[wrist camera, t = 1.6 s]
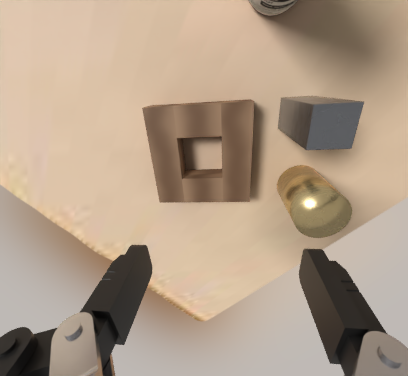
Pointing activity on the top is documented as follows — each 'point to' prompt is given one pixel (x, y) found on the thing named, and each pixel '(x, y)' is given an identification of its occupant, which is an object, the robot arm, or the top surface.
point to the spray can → (272, 6)
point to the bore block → (201, 127)
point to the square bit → (320, 121)
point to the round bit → (313, 202)
